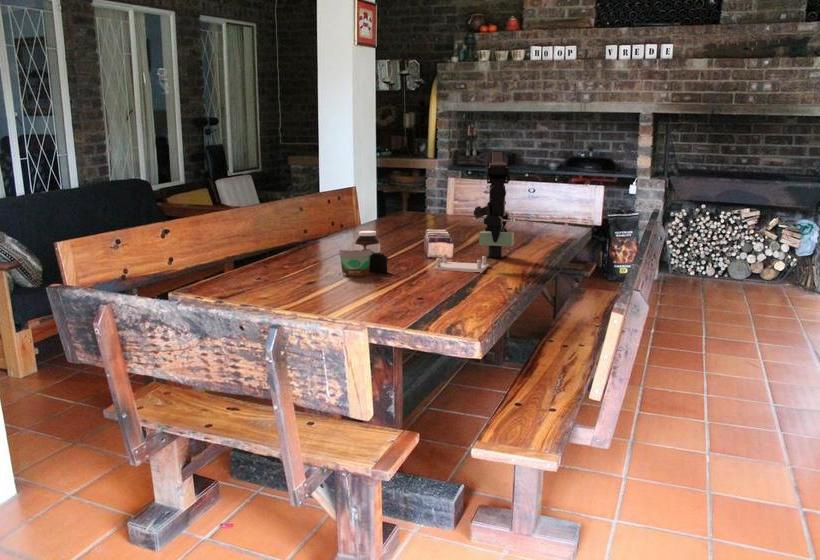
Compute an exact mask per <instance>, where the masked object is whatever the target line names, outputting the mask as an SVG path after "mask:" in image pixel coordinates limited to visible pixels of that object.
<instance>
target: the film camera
mask: <svg viewBox="0 0 820 560" xmlns="http://www.w3.org/2000/svg"><path fill="white" fill-rule="evenodd" d="M363 250H364V249H363ZM365 250H369V249H365ZM388 261H389V258H388V257H387V256H386V255H385V254H384V253H381V251H380V252H379V253H374V252H372V255H370V267H369V274H380V275H383V274H384V275H385V274H387V273H388Z"/></svg>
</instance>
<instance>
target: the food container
mask: <svg viewBox="0 0 820 560" xmlns="http://www.w3.org/2000/svg"><path fill="white" fill-rule="evenodd" d="M337 255H338V256H339V257H340V264H341V265H340V266H341V273H342V276H343V277H347V278H352V279H354V278H355V279H358V278H366V277H368V276H369V274H370V273H369V267H370V255H372V250H371V248H370V249H369V250H362V251H361V250H352V251H350V250H344V249H339V250H338V253H337Z"/></svg>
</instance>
